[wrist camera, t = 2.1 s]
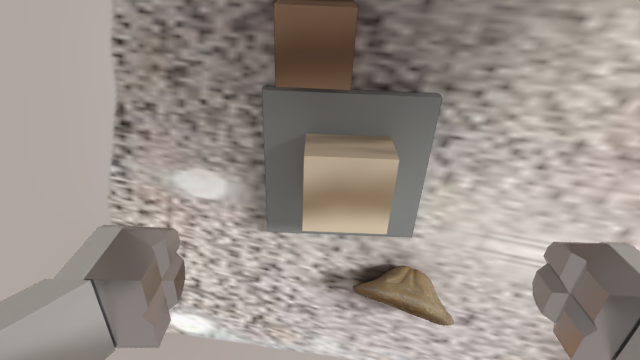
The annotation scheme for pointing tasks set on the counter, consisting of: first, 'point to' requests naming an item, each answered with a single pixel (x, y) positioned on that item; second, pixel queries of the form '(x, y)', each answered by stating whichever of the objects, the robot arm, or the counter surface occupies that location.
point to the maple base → (348, 183)
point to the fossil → (407, 294)
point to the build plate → (344, 119)
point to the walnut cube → (314, 43)
